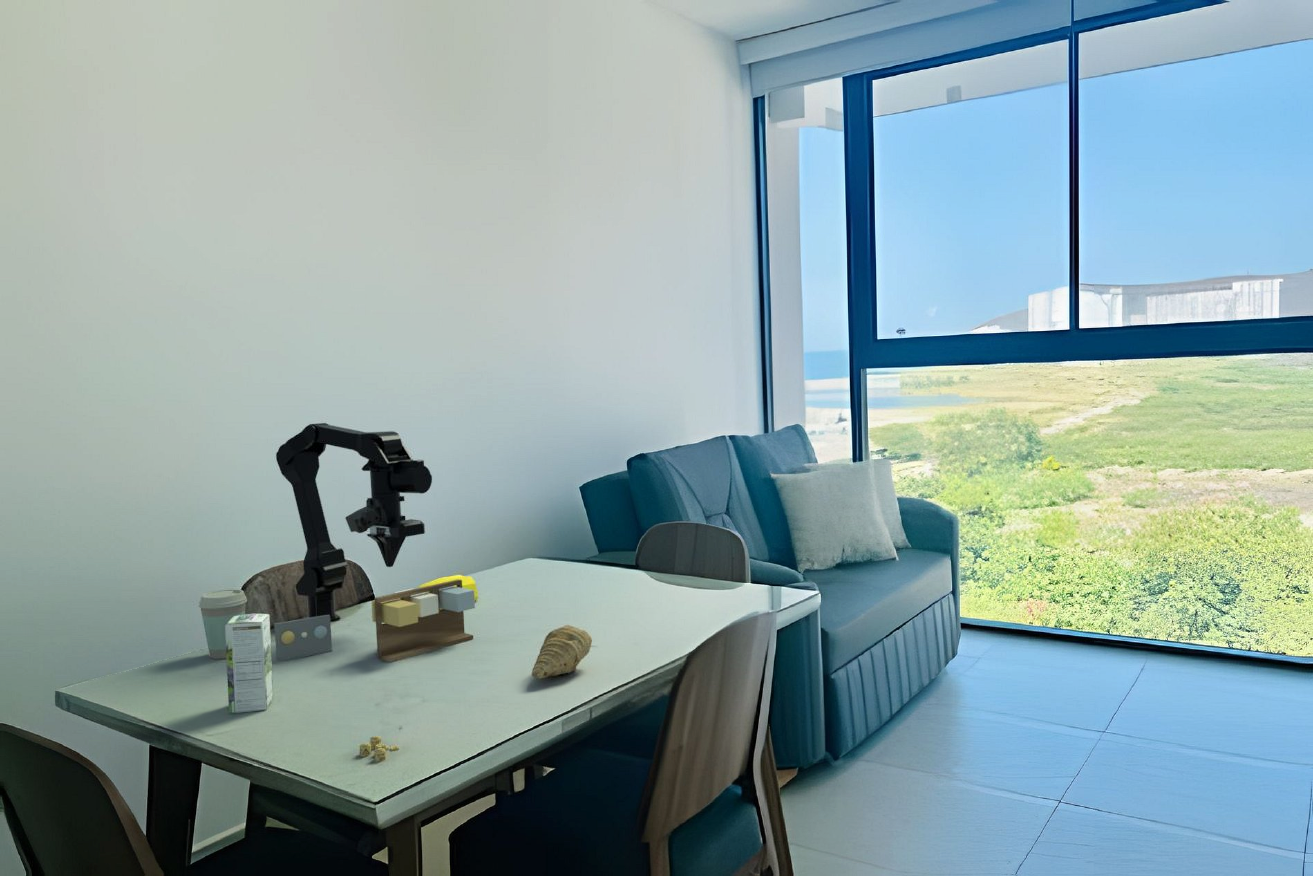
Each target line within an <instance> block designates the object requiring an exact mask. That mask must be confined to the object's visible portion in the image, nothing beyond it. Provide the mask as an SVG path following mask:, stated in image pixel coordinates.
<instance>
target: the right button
mask: <svg viewBox="0 0 1313 876" xmlns="http://www.w3.org/2000/svg"><path fill="white" fill-rule="evenodd" d="M439 597H440V608H442V609H446V610H451V611H455V612H461V611H463V612H465V611H469V610H472V609H475V608H476V604H475V602H476V601H475V600H474V590H470V589H465V588H460V587H455V586H451V587H447V588H442V589H439Z"/></svg>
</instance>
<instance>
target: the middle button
mask: <svg viewBox="0 0 1313 876" xmlns="http://www.w3.org/2000/svg"><path fill="white" fill-rule="evenodd" d="M413 589H414V588H413V587H412V588H409V589H405V590H399V591H395V592H394V591H393V593H392V594H395V593H399V592H404V591H408V590H413ZM398 599H399V600H400V598H398ZM411 602H412V603H417V611H418V617H424V616H428V615H432V614H436V613H439V611H438V595H435V594H431V593H426V592H425V593H420V594H416V595H412V596H411Z"/></svg>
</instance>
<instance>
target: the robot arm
mask: <svg viewBox="0 0 1313 876" xmlns="http://www.w3.org/2000/svg"><path fill="white" fill-rule="evenodd" d="M327 445H328V446H332V447H337V448H342V449H346V450H351V451H354V452H356V453H358V455H359V456H360V457H362V458H364V459H367V460H368V461H367V462H366V463H365V464H364V465H363V466H362V467H361V471H364V472H369V476H370V478H369V479H370V493H371V495H370V496H371V497H367V499H366V501H365V503H366V504H365V506H364V507H362V508H359V509H358V510H356V511H354V512H352V513H351V514H348V515H347V516H346V517H345V521H346V523H347V525H348V529H349V531H350V533H354V532H356V533H357V534H361V533H362V534H363V533H365V532H367V531H368V529H369V533H367V534H366V536H367V537H369V538H370V539H371V540H373V541H375V543H376V544H377V547H378V548H379V551H380V553H381V556H382V559H383V562H384V564H385V567H386V568H392V567H393V566H394V565H395V562H396V559H397V557H398V555H399V552H400V550H401V547H402V546H403V544H404V542H405V540H406V538H407V537H411V536H412V537H413V536H418V535H419V536H420V535H424V534H426V532H425V531H426V529H425V526H426V525H425V523H424V522H423V521H422V520H420V519H410V518H409V519H406V515H403V514H402V507H401V502H405V495H401V494H425V493H427V492H428V491H429V490H430V489H431V486H432V483H433V475H432V473H431V471H430V469H429V468H428V467H427V466H426V465H425V460H424V459H417V460H416V459H415V460H414V458H413V457H412V456H411V454H410V452H409V450H408V449H407V447H406V446H405V445H404V443H403V441H402V439H401V437H400V434H399V433H397V432H396V431H392V430H391V431H390V430H389V431H372V432H371V431H369V432H367V431H360V430H357V429H350V428H345V427H341V426H337V425H331V424H328V423H326V422H321V423H309V424H308V425H306V426H305V427H304V428H303V429H302V430H301V431H300V432H299V433H297V434H295V435H294V436H292V437H290V438H289V439H288V440H286V441H285V443H283V444H280V447H278V450H277V451H276V453H275V458H276V462H277V465H278V467H279V470H280V473H281V475H282V476H283V477H284V479H286V481H288V483H290V485H291V486H292V492H293V496H294V498H295V503H296V508H297V511H298V515H299V519H300V524H301V527H302V532H303V538H304V540H305V544H306V552H305V556H304V559H303V561H302V563H303V574H302V576H301V578H300V579H299V580H298V582H297V583H296V584H295V589H296V594H297V595H298V596H304V597H305V596H306V603H307V604H306V606H307V609H306V610H307V615H304V616H303V617H302V619H304V618H310V617H316V616H323V615H330V622H332V621H331V620H333V621H337V620H338V619H339V620H341V616H340V615H338V614H337V613H336V602H335V601H336V600H335V591H336V590H340V589H343V585H344V582H345V578H346V575H347V567H348V563H347V561H346V558H345V551H344V550H343V549H344V548H342V547H341V548H336V546H335V545H334V544H333V543H332V541H331V538H330V535H329V529H328V526H327V521H326V517H325V513H324V509H323V504H322V502H321V501H322V500H321V496H320V493H319V488H318V483H317V480H316V479H317V476H318V472H319V469H320V458H319V457H320V456H321V455H322V454H323V453H324V452H325V451H326V447H327Z"/></svg>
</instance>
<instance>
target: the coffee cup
mask: <svg viewBox="0 0 1313 876" xmlns="http://www.w3.org/2000/svg"><path fill="white" fill-rule="evenodd" d="M247 602H248V599H247V596H246V594H245V592H244V590H242V589H237V588H231V589H230V588H229V589H220V590H214V591H209V592H206V593H204V594H202V595H201V597H200V600H199V602H198V604H199V605H198V607H199V608H200V611H201V616H202V622H203V628H204V632H205V636H206V643H207V649H208V653H209V657H210V658H211V659H213V660H224V658H225V659H227V658H226V636H225V625H226V624H227V623H228V622H229V621H230V620H231V619H232V618H233V617H234V616H238V615H245V614H246V604H247Z"/></svg>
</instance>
